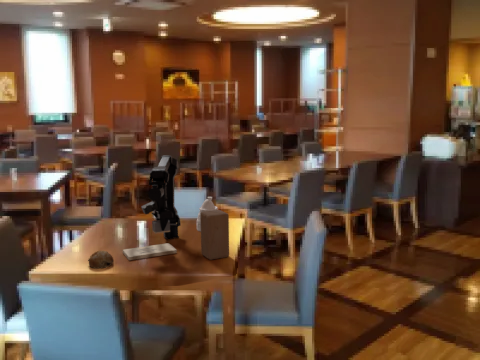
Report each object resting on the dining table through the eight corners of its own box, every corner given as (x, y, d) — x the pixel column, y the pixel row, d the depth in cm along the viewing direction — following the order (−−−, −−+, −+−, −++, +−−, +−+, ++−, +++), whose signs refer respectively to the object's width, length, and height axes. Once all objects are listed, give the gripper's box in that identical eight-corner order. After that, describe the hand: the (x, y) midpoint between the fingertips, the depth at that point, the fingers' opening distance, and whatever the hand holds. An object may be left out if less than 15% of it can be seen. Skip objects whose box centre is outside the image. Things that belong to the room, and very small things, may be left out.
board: (168, 246, 230) (168, 243, 229) (176, 253, 219) (176, 249, 219) (122, 252, 220) (122, 249, 220) (128, 260, 209) (128, 257, 209)
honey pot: (225, 229, 259) (224, 196, 256) (205, 233, 251) (205, 200, 248) (210, 224, 269) (210, 193, 266) (192, 228, 261) (191, 196, 258)
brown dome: (97, 278, 199) (102, 262, 196) (81, 264, 203) (85, 249, 200) (115, 270, 207) (119, 256, 204) (99, 257, 211) (104, 243, 208)
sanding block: (167, 229, 224) (166, 219, 223) (170, 231, 220) (169, 221, 219) (152, 231, 221) (152, 220, 220) (155, 233, 217) (154, 223, 216)
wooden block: (209, 260, 208) (208, 216, 204) (200, 254, 216) (199, 211, 213) (230, 257, 212) (229, 213, 209) (220, 251, 221) (219, 208, 218)
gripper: (137, 194, 223) (139, 226, 225) (148, 201, 206) (149, 236, 209) (160, 192, 227) (161, 224, 230) (172, 199, 211) (174, 233, 213)
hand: (161, 229), depth 220 cm, fingers closed on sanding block, 4 cm apart
